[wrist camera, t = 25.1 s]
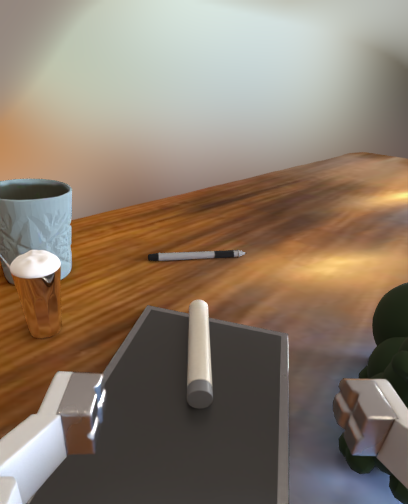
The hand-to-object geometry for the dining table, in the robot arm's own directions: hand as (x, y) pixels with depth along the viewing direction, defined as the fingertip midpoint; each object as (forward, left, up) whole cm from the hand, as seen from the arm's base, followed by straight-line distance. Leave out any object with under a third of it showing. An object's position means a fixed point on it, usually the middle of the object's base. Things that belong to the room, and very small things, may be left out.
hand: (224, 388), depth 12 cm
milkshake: (+17, +21, -16) cm, 32 cm away
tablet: (+12, +3, -16) cm, 20 cm away
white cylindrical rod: (+11, +2, -14) cm, 18 cm away
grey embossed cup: (+28, +29, -16) cm, 44 cm away
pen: (+39, +9, -16) cm, 44 cm away
